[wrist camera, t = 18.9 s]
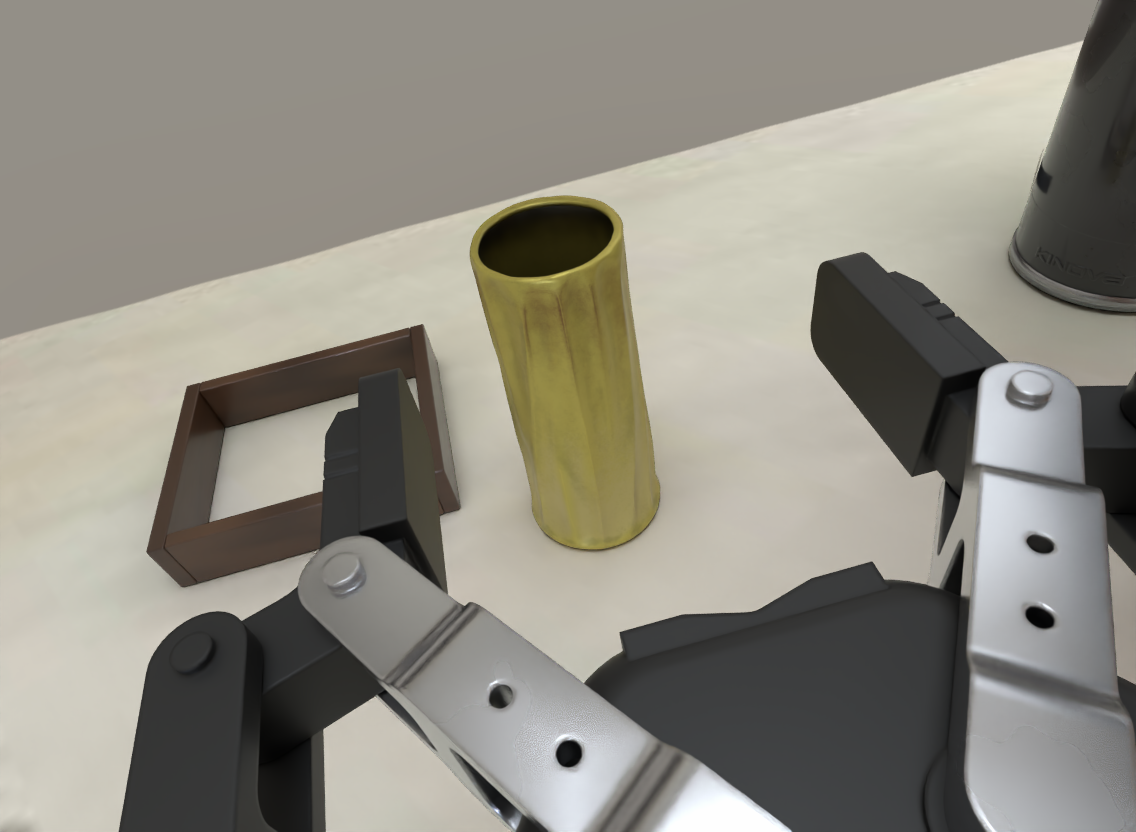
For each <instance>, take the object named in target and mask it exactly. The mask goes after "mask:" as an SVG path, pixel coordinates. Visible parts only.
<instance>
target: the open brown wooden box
mask: <svg viewBox="0 0 1136 832" xmlns="http://www.w3.org/2000/svg"><path fill="white" fill-rule="evenodd" d="M396 368H400V369H401V370H402V372H403V374H404V376H405V379H408V378H412V377H415V376H416V383H417V391H418V399H419V408H420V415H421V418H422V420H423V423H424V425H425V428H426V430H427V434H428V437H429V441H430V444H431V449H432V454H433V461H434V471H435V480H436V489H437V498H438V507H439V515H440V514H443V513H444V512H445V513H447V512H451V511H454V510H458V509H460V502H459V495H458V489H457V483H456V477H455V470H454V464H453V458H452V451H451V445H450V439H449V433H448V426H447V420H446V414H445V407H444V401H443V395H442V389H441V382H440V376H439V370H438V363H437V360H436V357H435V355H434V352H433V349H432V347H431V344H430V341H429V339H428V336H427V333H426V330H425V328H424V325H423V324H421V325H417V326H413V327H411V328H406V329H402V330H398V331H394V332H391V333H387V334H383V335H379V336H375V337H372V338H368V339H364V340H360V341H356V342H353V343H349V344H345V345H341V346H337V347H334V348H330V349H326V350H322V351H319V352H315V353H311V354H307V355H303V356H300V357H296V358H292V359H288V360H284V361H281V362H277V363H273V364H269V365H265V366H262V367H258V368H254V369H250V370H246V371H243V372H239V373H235V374H231V375H228V376H224V377H220V378H216V379H212V380H209V381H205V382H202V383H197V384H193V385H190V386H187V388H186V392H185V396H184V400H183V404H182V408H181V413H180V417H179V421H178V425H177V429H176V433H175V437H174V441H173V445H172V449H171V453H170V457H169V461H168V466H167V470H166V474H165V478H164V482H163V486H162V490H161V494H160V498H159V502H158V506H157V510H156V514H155V519H154V523H153V527H152V531H151V535H150V539H149V543H148V547H147V551H146V552H147V554H148V555H149V556H150V557H151V558H152V559H153V560H154V561H155V562H156V563H157V564H158V565H159V566H161V567H162V568H163V569H164V570H165V571H166V572H167V573H168V574H169V575H170V576H171V577H172V578H173V579H174V580H175V581H176V582H177V583H178V584H179V585H180V586H181V587H185V586H188V585H192V584H195V583H197V582H202V581H206V580H209V579H213V578H217V577H220V576H224V575H227V574H231V573H234V572H238V571H241V570H245V569H249V568H252V567H256V566H259V565H263V564H266V563H270V562H273V561H277V560H280V559H284V558H288V557H291V556H295V555H298V554H302V553H305V552H309V551H312V550H316V549H320V535H321V516H322V496H323V491H322V492H318V493H314V494H311V495H307V496H304V497H300V498H296V499H293V500H289V501H286V502H282V503H278V504H275V505H271V506H267V507H264V508H260V509H257V510H253V511H249V512H246V513H242V514H239V515H235V516H231V517H228V518H224V519H220V520H217V521H213V522H210V523H208V520H209V515H210V509H211V503H212V497H213V492H214V486H215V480H216V474H217V469H218V463H219V457H220V451H221V446H222V440H223V434H224V428H225V427H229V426H233V425H236V424H240V423H244V422H248V421H251V420H255V419H259V418H263V417H266V416H270V415H274V414H277V413H281V412H285V411H289V410H292V409H296V408H300V407H303V406H307V405H311V404H315V403H318V402H322V401H326V400H330V399H333V398H337V397H341V396H344V395H348V394H352V393H356V392H358V382H359V378H361V377H365V376H368V375H372V374H376V373H380V372H384V371H388V370H392V369H396Z"/></svg>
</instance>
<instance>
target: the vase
mask: <svg viewBox="0 0 1136 832" xmlns="http://www.w3.org/2000/svg"><path fill="white" fill-rule="evenodd" d="M470 261H471V265H472V269H473V272H474V275H475V279H476V283H477V287H478V291H479V294H480V298H481V302H482V306H483V309H484V313H485V317H486V320H487V324H488V328H489V331H490V335H491V338H492V342H493V345H494V348H495V351H496V354H497V357H498V360H499V364H500V368H501V373H502V378H503V382H504V387H505V391H506V395H507V399H508V403H509V407H510V411H511V415H512V419H513V423H514V428H515V432H516V435H517V439H518V442H519V445H520V449H521V452H522V455H523V459H524V463H525V467H526V471H527V476H528V480H529V484H530V489H531V496H532V511H533V515H534V517H535V519H536V521H537V523H538V525H539V526H540V528H541V529H542V530H543V531H544V532H545V533H546V534H547V535H548V536H550V537H551V538H552V539H554V540H556V541H557V542H559V543H561V544H564V545H566V546H569V547H573V548H579V549H605V548H610V547H613V546H616V545H619V544H622V543H624V542H626V541H628V540H630V539H632V538H633V537H635V536H636V535H638V534H639V533H640V532H641V531H642V530H643V529H645V527H646V526H647V525H648V524H649V523H650V521H651V520H652V518H653V517H654V515H655V513H656V511H657V508H658V505H659V499H660V484H659V481H658V478H657V476H656V474H655V462H654V451H653V442H652V435H651V429H650V423H649V417H648V412H647V406H646V401H645V395H644V389H643V382H642V376H641V370H640V362H639V354H638V348H637V341H636V334H635V328H634V320H633V313H632V306H631V299H630V292H629V283H628V273H627V262H626V253H625V244H624V235H623V223H622V220H621V218H620V217H619V215H618V214H617V213H616V212H615V211H614V209H612V208H611V207H610V206H608V205H607V204H605V203H603V202H601V201H598V200H595V199H590V198H585V197H577V196H552V197H541V198H535V199H530V200H527V201H523V202H520V203H517V204H514V205H512V206H510V207H507V208H505V209H504V210H502V211H500V212H498V213H497V214H495V215H494V216H492V217H490V218H489V219H488V220H486V221H485V222H484V223H483V224H482V225H481V226H480V227H479V229H478V230H477V231H476V233H475V235H474V236H473V240H472V243H471V247H470Z"/></svg>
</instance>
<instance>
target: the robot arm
mask: <svg viewBox="0 0 1136 832" xmlns="http://www.w3.org/2000/svg"><path fill="white" fill-rule="evenodd" d="M1042 152H1043V151H1042ZM1041 155H1042V154H1041ZM1040 159H1041V157H1040ZM1040 159H1039V162H1038V166H1039V163H1040ZM1038 166H1037V169H1036V173H1037V170H1038ZM1036 173H1035V176H1034V180H1035V182H1034V180H1033V183H1034V184H1033V183H1032V186H1033V187H1031V189H1032V190H1030V192H1031V193H1030V194H1029V195H1030V196H1029V198H1028V201H1027V204H1026V207H1025V210H1024V213H1023V216H1022V219H1021V221H1020V224H1019V227H1018V228H1017V229H1016V231H1015V233H1014V236H1013V239H1012V242H1011V244H1010V247H1009V257H1010V261H1011V263H1012V265H1013V267H1014V268H1015V270H1016V271H1017V272H1018V273H1019V274H1020V275H1021V276H1022V277H1023V278H1024V279H1025V280H1027V281H1028V282H1029V283H1030V284H1032V285H1034V286H1035V287H1037V288H1038V289H1040V290H1042V291H1044V292H1046V293H1048V294H1050V295H1052V296H1055V297H1057V298H1060V299H1062V300H1065V301H1068V302H1071V303H1075V304H1078V305H1082V306H1087V307H1091V308H1097V309H1103V310H1110V311H1122V312H1136V0H1098V3H1097V5H1096V8H1095V11H1094V14H1093V17H1092V20H1091V22H1090V25H1089V28H1088V31H1087V34H1086V37H1085V39H1084V42H1083V45H1082V48H1081V51H1080V54H1079V57H1078V59H1077V62H1076V65H1075V68H1074V71H1073V74H1072V77H1071V79H1070V82H1069V85H1068V88H1067V91H1066V94H1065V96H1064V99H1063V102H1062V105H1061V108H1060V111H1059V114H1058V116H1057V119H1056V122H1055V125H1054V128H1053V131H1052V134H1051V136H1050V139H1049V142H1048V145H1047V148H1046V151H1045V153H1044V156H1043V159H1042V162H1041V165H1040V168H1039V171H1038V173H1037V176H1036ZM1035 177H1036V179H1035ZM811 339H812V344H813V347H814V350H815V352H816V354H817V356H818V358H819V359H820V361H821V362H822V363H823V364H824V366H825V367H826V368H827V369H828V371H829V372H830V373H831V375H832V376H833V377H834V378H835V380H836V381H837V382H838V384H839V385H840V386H841V387H842V389H843V390H844V391H845V392H846V394H847V395H848V396H849V398H850V399H851V400H852V401H853V403H854V404H855V405H856V406H857V408H858V409H859V410H860V412H861V413H862V414H863V415H864V417H865V418H866V419H867V420H868V422H869V423H870V424H871V426H872V427H873V428H874V429H875V431H876V432H877V433H878V434H879V436H880V437H881V438H882V440H883V441H884V442H885V443H886V445H887V446H888V447H889V448H890V450H891V451H892V452H893V454H894V455H895V456H896V457H897V459H898V460H899V461H900V463H901V464H902V465H903V466H904V468H905V469H906V470H907V471H908V473H909V474H910V475H911V477H914V476H917V475H921V474H925V473H928V472H932V471H936V470H937V471H938V472H939V473H940V474H941V475H942V477H943V478H944V479H943V482H942V485H941V488H940V493H939V502H938V510H937V518H936V526H935V535H934V543H933V551H932V559H931V567H930V573H929V578H928V582H927V585H926V584H921V583H915V582H910V581H900V580H884V579H883V577H882V576H881V574H880V573H879V571H878V570H877V568H876V566H875V565H874V563H873V562H869V563H865V564H861V565H858V566H854V567H851V568H847V569H844V570H840V571H836V572H833V573H829V574H826V575H822V576H819V577H815V578H811V579H810V580H808V581H806V582H805V583H803V584H801V585H800V586H798V587H796V588H794V589H793V590H791V591H789V592H788V593H786V594H784V595H783V596H781V597H779V598H778V599H776V600H774V601H773V602H771V603H769V604H768V605H766V606H764V607H762V608H761V609H759V610H757V611H753V612H744V613H715V614H685V615H679V616H676V617H672V618H669V619H665V620H662V621H658V622H654V623H651V624H647V625H644V626H640V627H637V628H633V629H629V630H626V631H622V632H620V638H621V643H622V648H623V651H622V652H621V653H619V654H617V655H616V656H614V657H612V658H611V659H609V660H608V661H607V662H606V663H604V664H603V665H602V666H600V667H599V668H598V669H597V670H596V671H595V672H594V673H593V674H592V675H591V676H590V677H589V678H588V679H587V680H586V682H585V683H583V682H581V681H580V680H579V679H577V678H576V677H575V676H573V675H572V674H571V673H569V672H568V671H567V670H565V669H564V668H563V667H561V666H560V665H559V664H557V663H556V662H555V661H553V660H552V659H551V658H549V657H548V656H547V655H545V654H544V653H543V652H542V651H540V650H539V649H538V648H536V647H535V646H534V645H532V644H531V643H530V642H528V641H527V640H526V639H524V638H523V637H522V636H520V635H519V634H518V633H516V632H515V631H514V630H512V629H511V628H510V627H508V626H507V625H506V624H504V623H503V622H502V621H501V620H499V619H498V618H497V617H495V616H494V615H493V614H491V613H490V612H489V611H487V610H486V609H484V608H483V607H481V606H480V605H478V604H476V603H473V602H469V603H468V604H467V605H466V606H464V605H461V604H460V603H458V602H457V601H455V600H454V599H453V598H451V597H450V596H449V595H448V591H447V581H446V572H445V563H444V554H443V544H442V535H441V526H440V517H439V507H438V498H437V489H436V480H435V471H434V461H433V454H432V449H431V444H430V441H429V437H428V434H427V430H426V428H425V425H424V423H423V420H422V418H421V415H420V413H419V410H418V408H417V405H416V403H415V401H414V398H413V396H412V393H411V391H410V388H409V386H408V383H407V381H406V379H405V376H404V374H403V372H402V370H401V369H400V368H396V369H392V370H388V371H384V372H380V373H376V374H372V375H368V376H365V377H361V378H359V382H358V407H356V408H352V409H348V410H344V411H340V412H338V413H337V415H336V417H335V418H334V420H333V422H332V424H331V426H330V428H329V429H328V431H327V433H326V436H325V456H324V457H325V462H324V478H325V480H323V496H322V516H321V535H320V549H319V552H317V553H316V554H315V555H314V556H313V557H312V558H311V560H310V561H309V562H308V563H307V565H306V566H305V568H304V570H303V571H302V574H301V576H300V579H299V583H298V586H297V587H296V588H295V589H294V590H293V591H292V592H290V593H289V594H288V595H286V596H285V597H283V598H281V599H280V600H278V601H276V602H275V603H273V604H271V605H269V606H268V607H266V608H264V609H262V610H260V611H259V612H257V613H255V614H253V615H252V616H250V617H248V618H246V619H245V620H243V621H241V620H240V619H239V618H238V617H236V616H234V615H233V614H230V613H227V612H219V611H216V612H208V613H204V614H201V615H198V616H196V617H193V618H191V619H189V620H188V621H186V622H184V623H183V624H181V625H180V626H178V627H177V628H176V629H174V630H173V631H172V632H171V633H170V634H169V635H168V636H167V637H166V638H165V639H164V640H163V641H162V642H161V644H160V645H159V646H158V647H157V649H156V651H155V652H154V654H153V656H152V658H151V660H150V662H149V665H148V668H147V672H146V677H145V683H144V689H143V695H142V700H141V706H140V712H139V718H138V724H137V729H136V735H135V741H134V747H133V752H132V758H131V764H130V770H129V775H128V781H127V787H126V793H125V799H124V804H123V810H122V816H121V822H120V827H119V832H326V823H325V782H324V741H323V729H324V728H326V727H327V726H329V725H331V724H332V723H334V722H335V721H337V720H338V719H340V718H342V717H343V716H345V715H346V714H348V713H349V712H351V711H353V710H354V709H356V708H357V707H359V706H360V705H362V704H364V703H365V702H367V701H368V700H370V699H371V698H373V697H375V696H376V697H377V698H378V699H379V700H380V701H381V702H382V703H383V704H384V705H385V706H386V707H387V708H388V709H389V710H390V711H391V712H392V713H393V714H394V715H395V716H396V717H397V718H398V719H399V720H400V721H401V722H402V723H403V724H404V725H405V726H406V727H408V728H409V729H410V730H411V731H412V732H413V733H414V734H415V735H416V736H417V737H418V738H419V739H420V740H421V741H422V742H423V743H424V744H425V745H426V746H427V747H428V748H429V749H430V750H431V751H432V752H433V753H434V754H435V755H436V756H437V757H438V758H439V759H440V760H441V761H442V762H443V763H444V764H445V765H446V766H447V767H448V768H449V769H450V770H451V771H452V772H453V773H454V775H455V776H456V777H457V778H458V779H459V780H460V781H461V782H462V784H463V785H464V786H465V787H466V788H467V789H468V790H469V791H470V792H471V793H472V794H473V795H474V796H475V797H476V798H477V799H478V800H479V801H480V802H481V803H482V804H483V805H484V806H485V807H486V808H487V809H488V810H489V811H490V812H491V813H492V814H493V815H494V816H495V817H496V818H497V819H498V820H499V821H500V822H501V823H502V824H503V825H504V826H505V827H506V828H507V829H509V830H510V831H511V832H1136V685H1135V684H1133V683H1131V682H1129V681H1127V680H1125V679H1123V678H1121V677H1119V676H1117V667H1116V653H1115V638H1114V624H1113V610H1112V596H1111V582H1110V568H1109V554H1108V544H1109V545H1110V546H1111V547H1112V549H1113V550H1114V551H1115V552H1116V553H1117V554H1118V555H1119V557H1120V558H1121V559H1122V560H1123V561H1124V562H1125V563H1126V564H1127V566H1128V567H1129V568H1130V569H1131V570H1132V571H1133V572H1134V573H1135V575H1136V372H1135V374H1134V376H1133V378H1132V379H1131V381H1130V383H1129V385H1128V386H1075V385H1074V383H1073V382H1071V381H1070V380H1069V379H1068V378H1067V377H1065V376H1064V375H1062V374H1061V373H1059V372H1057V371H1055V370H1053V369H1051V368H1048V367H1045V366H1042V365H1038V364H1034V363H1028V362H1008V361H1007V360H1006V359H1005V358H1004V357H1003V356H1002V355H1000V354H999V353H998V352H997V351H996V350H995V349H994V348H993V347H992V346H990V345H989V344H988V343H987V342H986V341H985V340H984V339H983V338H982V337H981V336H979V335H978V334H977V333H976V332H975V331H974V330H973V329H972V328H971V327H970V326H968V325H967V324H966V323H965V322H964V321H963V320H962V319H961V318H960V317H959V316H958V317H955V313H954V312H953V311H952V310H951V309H950V308H949V307H948V306H946V305H945V304H944V303H940V299H939V298H938V297H936V296H935V295H934V294H933V293H932V292H931V291H930V290H929V289H928V288H927V287H925V286H924V285H923V284H922V283H920V282H918V281H916V280H914V279H911V278H909V277H907V276H905V275H903V274H900V273H898V272H896V271H894V272H891V273H887V272H886V271H885V270H884V269H883V268H882V267H881V266H880V265H879V264H878V263H877V262H876V261H875V260H874V259H873V258H872V257H870V256H869V255H868V254H866V253H864V252H861V253H856V254H852V255H848V256H845V257H841V258H837V259H833V260H829V261H825V262H823V263H822V264H821V265H820V267H819V269H818V273H817V280H816V288H815V296H814V304H813V312H812V320H811Z"/></svg>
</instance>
